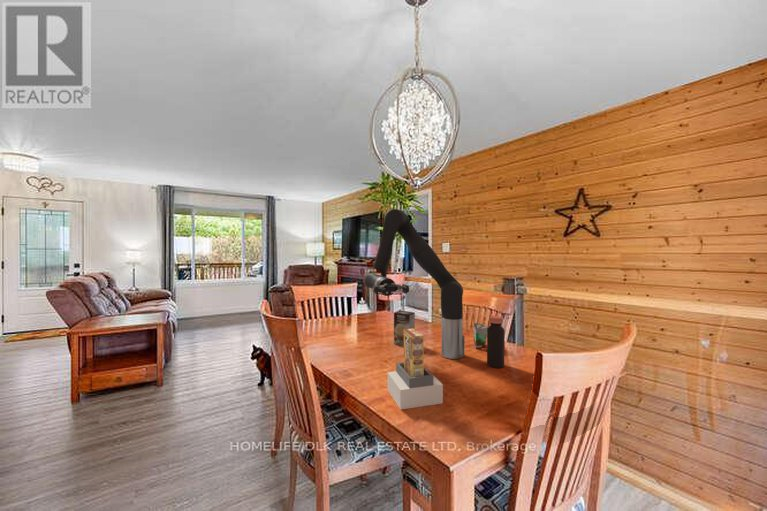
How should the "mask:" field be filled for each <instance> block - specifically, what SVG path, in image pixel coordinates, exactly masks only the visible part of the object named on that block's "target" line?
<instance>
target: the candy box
mask: <svg viewBox="0 0 767 511" xmlns="http://www.w3.org/2000/svg"><path fill="white" fill-rule="evenodd" d="M424 346H425V345H424V335H423V334H422V333H421V332H420V331H419V330H417V329H404V346H403V362H404V370H405V371H406V372H407V373H408V375H409V376H410V377H417V376H424V367H425V366H424V365H425V360H424V358H425V357H424V356H425V354H424V352H425V350H424V349H425V348H424Z"/></svg>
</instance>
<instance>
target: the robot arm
mask: <svg viewBox="0 0 767 511" xmlns="http://www.w3.org/2000/svg"><path fill="white" fill-rule="evenodd" d="M383 218H384V220H383V225H382V226H383V228H382V232H381V237H380V241H379V245H378V249H377V253H376V255H375V258H374V261H373V265H372V267H373V268H374V270H376V271H378V272H380V275H379V274H376V273H372V272H371V273H367V274H366V275H365V277H364V286H365V287H367V288H368V289H372V292H373V293H374V294H381V295H382V296H384V297H391V296H392V295H393V294H395V293H396V294H400V293H403V294H408V293H410V286H409V285H408V284H405V283H402V284H401V283H400V284H399V283H396V282H395V280H393V279H392V278H390V277H388V276H387V275H388V269H389V268H388V267H389V265H390V262H391V259H392V255H393V248H394V240H395V237H396V235H397V233H398V234H399V236H400V237H401V238H402V239H403V240H404V243H405V244H406V247H407V248H408V251H409V253H410V255H411V256H412V258H413V259H414V260H415V262H416V263H417V264H418V265H419V267H420V268H422V270H424V271H425V272H426V273H427V274H428V275H429V276H430V277H432V279H433V280H434V281H435V282H436V284H437V285H438V287H439V288H440V289H441V290H440V312H441V350H440V351H441V356H442V357H443V358H445V359H451V360H458V359H462V358H463V357H465V346H466V345H465V343H466V342H465V339H466V338H465V334H464V333H463V330H464V327H463V326H464V324H463V323H464V322H463V320H464V317H463V316H464V311H463V310H464V309H463V296H464V287H463V285H461V284H462V283H460V282H459V281H458V280H457V279H456V278H455V277H454V276H453V275H452V274H451V273H450V271H449V270H448V269H447V268H446V267H445V265H444V264H443V262H442V261H441V259H440V258H439V256H438V255H437V254H436V251H434V249H433V248H432V247H431V246H430V244H429V243H428V242H427V241H426V240H425V238H423V237H422V235H421V234H420V233H419V231H417V230H416V228H415V227H414V225H413V223H412V222H411V221H410V219H409V217H408V216H407V214H406V213H405V211H403V210H401V209H397V208H392V209H391V208H390V209H389V210H387V212H386V213H385V214H384V217H383Z"/></svg>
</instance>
